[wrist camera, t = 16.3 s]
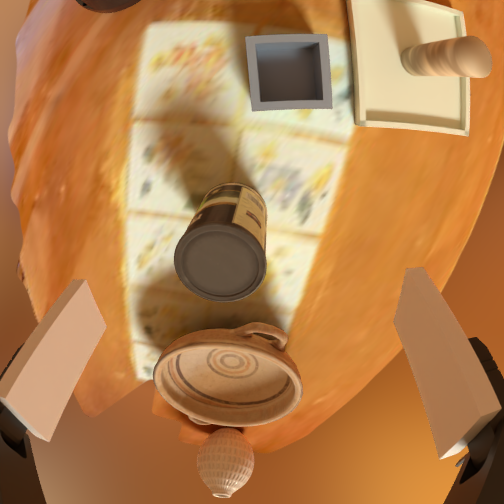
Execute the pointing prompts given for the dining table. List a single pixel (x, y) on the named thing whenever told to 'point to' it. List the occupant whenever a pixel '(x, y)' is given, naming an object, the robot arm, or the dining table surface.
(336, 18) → the dining table surface
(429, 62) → the dowel
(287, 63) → the grey square bin
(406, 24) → the tray
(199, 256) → the coffee can
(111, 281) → the dining table surface
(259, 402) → the ceramic bowl
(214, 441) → the vase
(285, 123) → the dining table surface
